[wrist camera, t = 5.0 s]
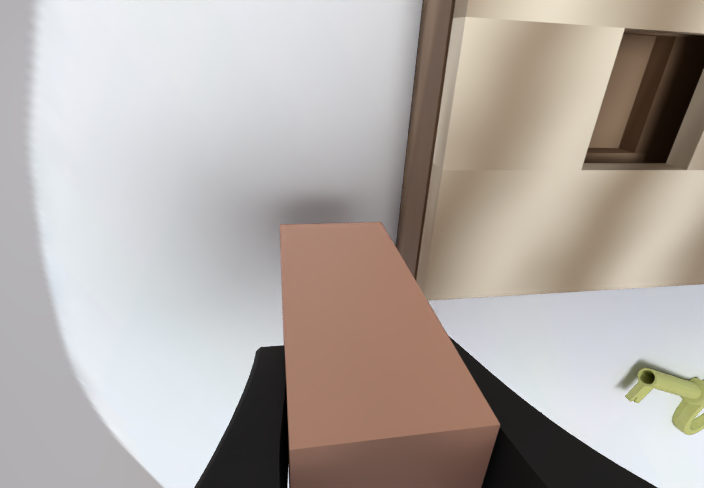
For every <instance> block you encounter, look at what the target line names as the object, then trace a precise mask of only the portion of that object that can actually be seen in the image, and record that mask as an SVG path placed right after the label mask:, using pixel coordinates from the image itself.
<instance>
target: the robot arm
mask: <svg viewBox="0 0 704 488" xmlns="http://www.w3.org/2000/svg"><path fill="white" fill-rule="evenodd" d="M449 338H450V337H449ZM450 340H451V342H452V343H453V345H454V347H455V348H456V350H457V352H458V353H459V355H460V357H461V359H462V360H463V362H464V364H465V365H466V367H467V369H468V370H469V372H470V374H471V376H472V377H473V379H474V381H475V382H476V384H477V386H478V387H479V389H480V391H481V393H482V394H483V396H484V398H485V399H486V401H487V403H488V404H489V406H490V408H491V410H492V411H493V413H494V415H495V416H496V418H497V420H498V421H499V423H500V427H499V431H498V434H497V437H496V441H495V444H494V447H493V450H492V454H491V457H490V460H489V464H488V467H487V470H486V473H485V477H484V480H483V483H482V487H481V488H657V487H656V486H654V485H652V484H650V483H649V482H647V481H645V480H643V479H642V478H640V477H638V476H637V475H635V474H633V473H631V472H630V471H628V470H626V469H625V468H623V467H621V466H619V465H618V464H616V463H614V462H613V461H611V460H610V459H608V458H606V457H605V456H603V455H601V454H600V453H598V452H597V451H595V450H594V449H592V448H591V447H589V446H588V445H586V444H585V443H583V442H582V441H580V440H579V439H577V438H576V437H574V436H573V435H571V434H570V433H568V432H567V431H565V430H564V429H562V428H561V427H560V426H558V425H557V424H555V423H554V422H553V421H551V420H550V419H549V418H547V417H546V416H545V415H543V414H542V413H541V412H539V411H538V410H537V409H535V408H534V407H533V406H531V405H530V404H529V403H527V402H526V401H525V400H524V399H522V398H521V397H520V396H518V395H517V394H516V393H515V392H513V391H512V390H511V389H510V388H509V387H507V386H506V385H505V384H504V383H503V382H501V381H500V380H499V379H498V378H497V377H495V376H494V375H493V374H492V373H491V372H490V371H488V370H487V369H486V368H485V367H484V366H483V365H481V364H480V363H479V362H478V361H477V360H476V359H475V358H473V357H472V356H471V355H470V354H469V353H468V352H467V351H465V350H464V349H463V348H462V347H461V346H460V345H459V344H457V343H456V342H455V341H454V340H453V339H452V338H450ZM287 483H288V428H287V393H286V365H285V345H284V346H270V347H260V348H259V349H258V350H257V351H256V355H255V359H254V363H253V366H252V370H251V373H250V376H249V378H248V381H247V384H246V386H245V389H244V392H243V394H242V396H241V398H240V401H239V403H238V405H237V408H236V410H235V412H234V414H233V417H232V419H231V421H230V423H229V425H228V427H227V429H226V431H225V433H224V435H223V437H222V439H221V441H220V443H219V445H218V446H217V448H216V450H215V452H214V454H213V456H212V458H211V460H210V462H209V463H208V465H207V467H206V469H205V470H204V472H203V474H202V476H201V477H200V479H199V481H198V482H197V484H196V486H195V487H194V488H287Z"/></svg>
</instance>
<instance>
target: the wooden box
mask: <svg viewBox="0 0 704 488" xmlns="http://www.w3.org/2000/svg"><path fill="white" fill-rule="evenodd" d="M455 1H456V0H423V5H422V14H421V23H420V32H419V42H418V51H417V60H416V69H415V78H414V87H413V96H412V105H411V114H410V123H409V132H408V141H407V150H406V160H405V169H404V178H403V187H402V196H401V205H400V214H399V223H398V232H397V241H396V248H397V250H398V252H399V253H400V255H401V257H402V258H403V260H404V262H405V263H406V265H407V267H408V269H409V270H410V272H411V274H412V275H413V277H414V279H415V280H416V278H417V271H418V264H419V257H420V249H421V242H422V235H423V228H424V221H425V214H426V207H427V200H428V193H429V185H430V178H431V171H432V164H433V157H434V150H435V143H436V136H437V129H438V121H439V114H440V107H441V100H442V93H443V86H444V79H445V72H446V65H447V57H448V50H449V43H450V36H451V29H452V22H453V15H454V8H455ZM703 69H704V35H690V34H676V33H661V32H647V31H632V30H624V33H623V36H622V39H621V43H620V46H619V49H618V52H617V56H616V59H615V62H614V65H613V69H612V72H611V75H610V78H609V82H608V85H607V88H606V91H605V94H604V98H603V101H602V104H601V107H600V111H599V114H598V117H597V120H596V124H595V127H594V130H593V133H592V137H591V140H590V143H589V146H588V150H587V153H586V156H585V159H584V163H666V162H667V159H668V157H669V154H670V152H671V149H672V147H673V144H674V142H675V139H676V137H677V134H678V132H679V129H680V127H681V124H682V122H683V119H684V117H685V114H686V112H687V109H688V107H689V104H690V102H691V99H692V97H693V94H694V92H695V89H696V87H697V84H698V82H699V79H700V77H701V74H702V72H703Z"/></svg>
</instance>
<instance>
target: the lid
mask: <svg viewBox="0 0 704 488" xmlns="http://www.w3.org/2000/svg"><path fill="white" fill-rule="evenodd" d="M624 30H632V31H647V32H661V33H676V34H690V35H704V0H456V1H455V8H454V15H453V22H452V29H451V36H450V43H449V50H448V57H447V65H446V72H445V79H444V86H443V93H442V100H441V107H440V114H439V121H438V129H437V136H436V143H435V150H434V157H433V164H432V171H431V178H430V185H429V193H428V200H427V207H426V214H425V221H424V228H423V235H422V242H421V249H420V257H419V264H418V271H417V278H416V282H417V284H418V286H419V287H420V289H421V291H422V292H423V294H424V296H425V297H426V299H427V301H428V300H445V299H461V298H478V297H495V296H512V295H529V294H545V293H562V292H579V291H596V290H612V289H629V288H646V287H663V286H680V285H696V284H704V69H703V72H702V74H701V77H700V79H699V82H698V84H697V87H696V89H695V92H694V94H693V97H692V99H691V102H690V104H689V107H688V109H687V112H686V114H685V117H684V119H683V122H682V124H681V127H680V129H679V132H678V134H677V137H676V139H675V142H674V144H673V147H672V149H671V152H670V154H669V157H668V159H667V162H666V163H584V159H585V156H586V153H587V150H588V146H589V143H590V140H591V137H592V133H593V130H594V127H595V124H596V120H597V117H598V114H599V111H600V107H601V104H602V101H603V98H604V94H605V91H606V88H607V85H608V82H609V78H610V75H611V72H612V69H613V65H614V62H615V59H616V56H617V52H618V49H619V46H620V43H621V39H622V36H623V33H624Z"/></svg>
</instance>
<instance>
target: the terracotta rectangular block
mask: <svg viewBox="0 0 704 488" xmlns="http://www.w3.org/2000/svg"><path fill="white" fill-rule="evenodd" d="M280 247H281V279H282V311H283V337H284V345H285V365H286V393H287V428H288V464H289V488H481V487H482V483H483V480H484V477H485V473H486V470H487V467H488V464H489V460H490V457H491V454H492V450H493V447H494V444H495V441H496V437H497V434H498V431H499V427H500V423H499V421H498V420H497V418H496V416H495V415H494V413H493V411H492V410H491V408H490V406H489V404H488V403H487V401H486V399H485V398H484V396H483V394H482V393H481V391H480V389H479V387H478V386H477V384H476V382H475V381H474V379H473V377H472V376H471V374H470V372H469V370H468V369H467V367H466V365H465V364H464V362H463V360H462V359H461V357H460V355H459V353H458V352H457V350H456V348H455V347H454V345H453V343H452V342H451V340H450V338H449V336H448V335H447V333H446V331H445V330H444V328H443V326H442V325H441V323H440V321H439V319H438V318H437V316H436V314H435V313H434V311H433V309H432V308H431V306H430V304H429V302H428V301H427V299H426V297H425V296H424V294H423V292H422V291H421V289H420V287H419V286H418V284H417V282H416V280H415V279H414V277H413V275H412V274H411V272H410V270H409V269H408V267H407V265H406V263H405V262H404V260H403V258H402V257H401V255H400V253H399V252H398V250H397V248H396V246H395V245H394V243H393V241H392V240H391V238H390V236H389V235H388V233H387V231H386V229H385V228H384V226H383V224H382V223H381V222H364V223H322V224H280Z"/></svg>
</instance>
